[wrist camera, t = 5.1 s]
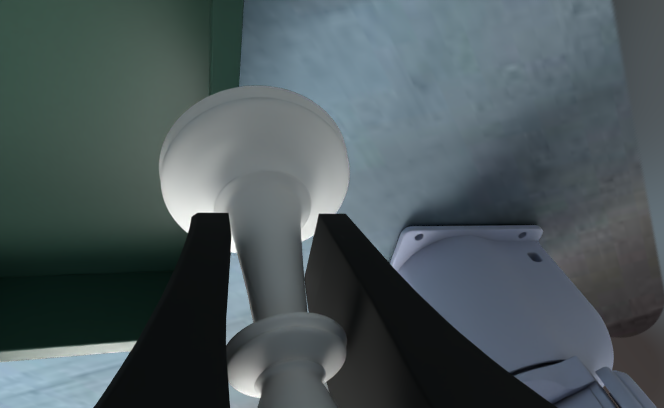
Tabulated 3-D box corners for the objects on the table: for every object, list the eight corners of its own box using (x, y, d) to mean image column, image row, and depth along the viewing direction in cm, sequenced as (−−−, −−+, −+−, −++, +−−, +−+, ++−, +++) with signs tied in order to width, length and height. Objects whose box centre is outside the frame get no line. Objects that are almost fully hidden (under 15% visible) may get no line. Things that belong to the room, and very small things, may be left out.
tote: (236, -61, 14) (245, -33, 11) (221, 271, 23) (224, 344, 20) (-236, -145, 11) (-445, -144, 7) (-36, 280, 20) (-88, 370, 16)
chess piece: (162, 240, 12) (91, 861, 5) (154, 73, 9) (-63, 983, 2) (328, 239, 14) (477, 713, 6) (365, 94, 11) (731, 651, 3)
